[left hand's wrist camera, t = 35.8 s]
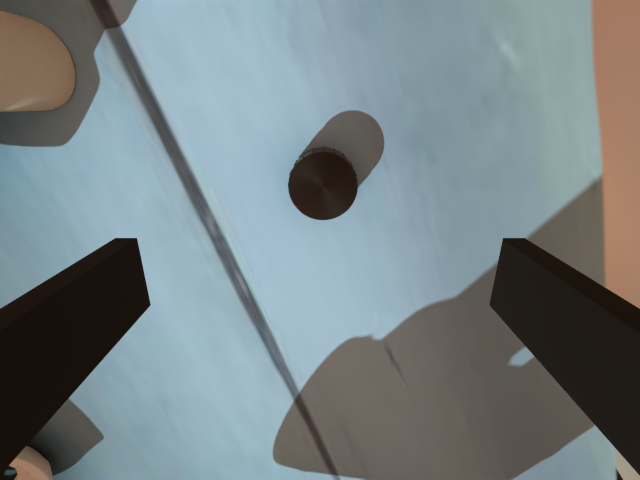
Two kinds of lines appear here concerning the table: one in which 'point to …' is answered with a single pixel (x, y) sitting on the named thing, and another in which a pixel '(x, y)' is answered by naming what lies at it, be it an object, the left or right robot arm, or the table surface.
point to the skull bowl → (31, 466)
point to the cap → (322, 184)
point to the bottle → (32, 66)
